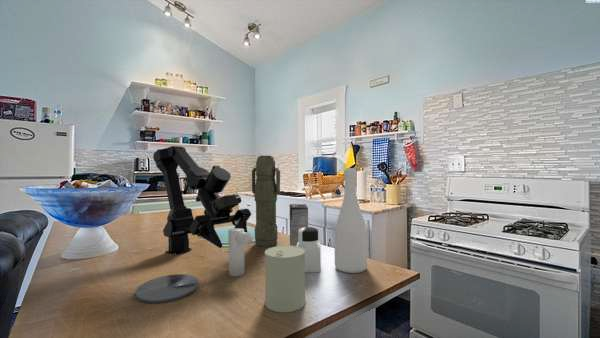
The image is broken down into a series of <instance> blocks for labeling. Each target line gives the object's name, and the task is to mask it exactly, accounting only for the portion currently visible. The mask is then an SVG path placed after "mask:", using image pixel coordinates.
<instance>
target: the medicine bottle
mask: <svg viewBox="0 0 600 338" xmlns="http://www.w3.org/2000/svg"><path fill="white" fill-rule="evenodd" d="M296 246H297V247H300V248H303V249H304V250H305V273H320V272H321V263H322V261H321V260H322V259H321V258H322V257H321V256H322V255H321V247H322V246H321V242H320V241H319V230H318V228H315V227H311V226H308V227H304V228H301V229H299V230H298V243H297V245H296Z"/></svg>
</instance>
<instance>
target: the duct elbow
mask: <svg viewBox="0 0 600 338" xmlns="http://www.w3.org/2000/svg"><path fill="white" fill-rule="evenodd" d="M227 235H228V275H229V276H230V277H241V276H243V275H244V274H246V273H245V272H246V270H245V269H246V268H245V246H249V245H250V244H252V242H253V239H254V236H253V235H252V233H250V232H247V233H246V232H244V229H241V228H235V227H234V228H230V229H228V234H227Z"/></svg>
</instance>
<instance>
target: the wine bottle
mask: <svg viewBox="0 0 600 338" xmlns="http://www.w3.org/2000/svg"><path fill="white" fill-rule="evenodd" d="M343 176H344V193H343V194H344V195H343V200H342V203H341V207H340V208H339V212H338V215H337V219H336V222H335V225H334V266H335V269H337V270H338V271H340V272H342V273H346V274H347V273H348V274H359V273H363V272H364V271H366V269H367V267H368V230H367V224H366V221H365V220H364V216H363V213H362V211H361V208H360V203H359V201H358V197H357V185H356V184H357V183H356V178H357V177H356V176H357V170H356V167H345V168H344V170H343Z"/></svg>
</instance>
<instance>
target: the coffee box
mask: <svg viewBox="0 0 600 338" xmlns="http://www.w3.org/2000/svg"><path fill="white" fill-rule="evenodd" d="M304 227H309V207H308V206H307V204H305V203H303V204H300V203H297V204H296V203H293V204H292V203H290V204H289V246H296V245H297V243H298V230H299V229H301V228H304Z"/></svg>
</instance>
